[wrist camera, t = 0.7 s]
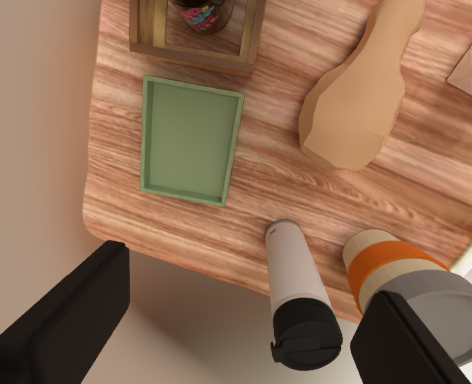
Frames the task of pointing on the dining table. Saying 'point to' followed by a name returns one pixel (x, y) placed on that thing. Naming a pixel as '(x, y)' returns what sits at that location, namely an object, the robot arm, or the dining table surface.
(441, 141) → the dining table surface
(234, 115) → the tray
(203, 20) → the supplement container
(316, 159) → the squash
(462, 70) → the white block figurine
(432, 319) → the reusable coffee cup
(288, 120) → the dining table surface
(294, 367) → the travel mug
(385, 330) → the robot arm
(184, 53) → the brown wooden square frame
